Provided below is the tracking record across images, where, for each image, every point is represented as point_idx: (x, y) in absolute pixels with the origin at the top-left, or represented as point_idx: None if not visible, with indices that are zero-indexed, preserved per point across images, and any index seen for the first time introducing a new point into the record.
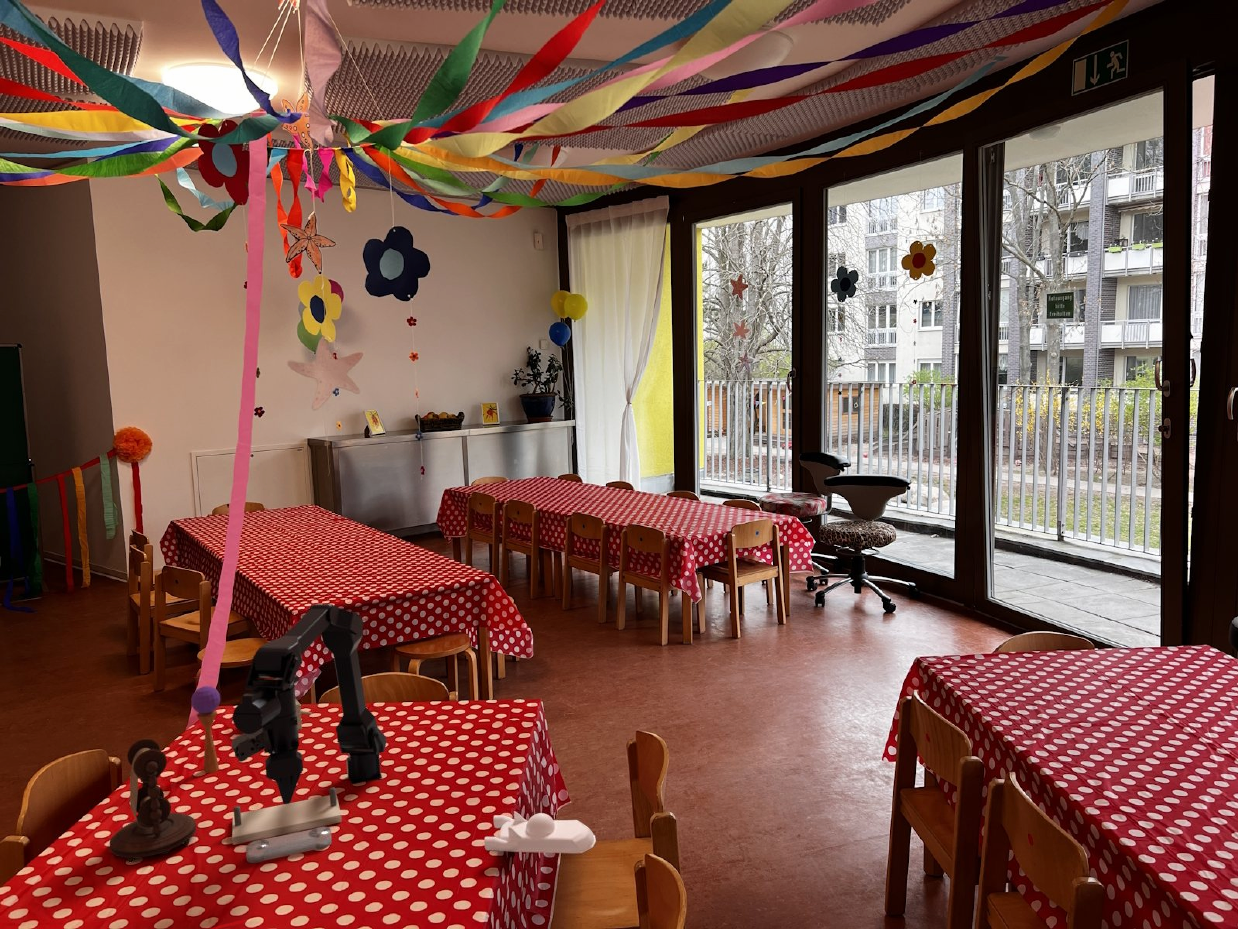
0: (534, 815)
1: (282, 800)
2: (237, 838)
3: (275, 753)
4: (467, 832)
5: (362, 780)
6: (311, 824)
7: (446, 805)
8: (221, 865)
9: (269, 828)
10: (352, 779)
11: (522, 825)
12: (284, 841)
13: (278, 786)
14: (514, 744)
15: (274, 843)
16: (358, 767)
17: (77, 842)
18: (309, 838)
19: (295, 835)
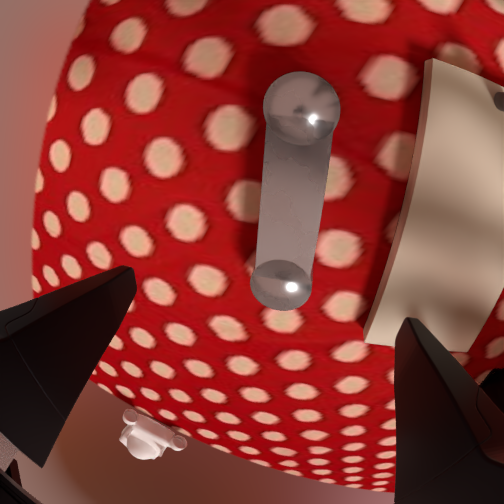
0: (138, 455)
1: (103, 272)
2: (429, 72)
3: (482, 493)
4: (198, 421)
5: (485, 384)
6: (386, 276)
7: (294, 437)
8: (310, 11)
9: (425, 170)
10: (501, 373)
11: (153, 444)
12: (279, 190)
13: (10, 310)
14: (391, 487)
15: (283, 159)
16: (497, 401)
17: None
18: (256, 256)
19: (300, 227)
